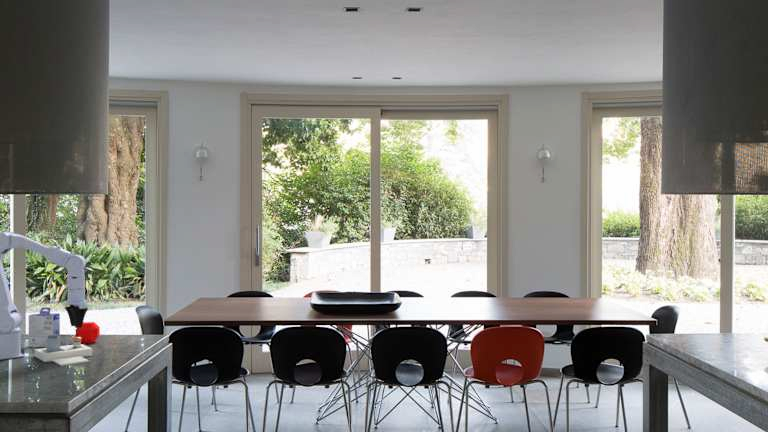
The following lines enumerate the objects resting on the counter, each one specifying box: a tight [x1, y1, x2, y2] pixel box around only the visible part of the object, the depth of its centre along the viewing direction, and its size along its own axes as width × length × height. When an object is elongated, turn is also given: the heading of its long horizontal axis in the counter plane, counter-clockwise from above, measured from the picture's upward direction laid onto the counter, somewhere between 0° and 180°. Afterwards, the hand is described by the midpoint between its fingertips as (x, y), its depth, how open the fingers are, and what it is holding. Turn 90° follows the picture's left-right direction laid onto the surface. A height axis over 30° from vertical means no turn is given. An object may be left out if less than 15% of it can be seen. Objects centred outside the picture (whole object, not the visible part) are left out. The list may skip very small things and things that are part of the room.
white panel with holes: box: [34, 343, 93, 363], centre depth 256 cm, size 16×12×2 cm
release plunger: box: [71, 336, 82, 349], centre depth 259 cm, size 3×3×4 cm
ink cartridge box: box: [27, 307, 61, 348], centre depth 274 cm, size 10×6×14 cm, turn 89°
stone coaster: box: [52, 356, 90, 367], centre depth 246 cm, size 9×9×1 cm
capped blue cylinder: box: [45, 335, 61, 353], centre depth 254 cm, size 4×4×8 cm
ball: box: [75, 321, 101, 344], centre depth 282 cm, size 8×8×8 cm
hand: (76, 326), depth 259 cm, fingers open, 4 cm apart
